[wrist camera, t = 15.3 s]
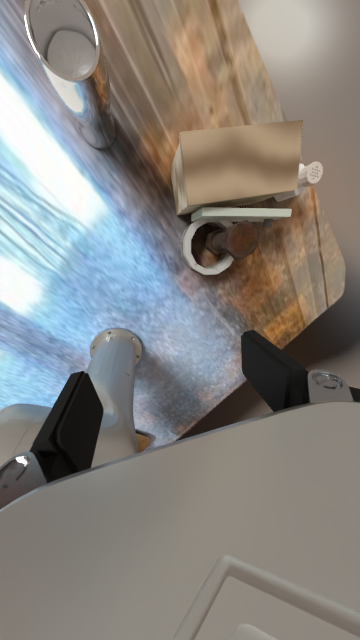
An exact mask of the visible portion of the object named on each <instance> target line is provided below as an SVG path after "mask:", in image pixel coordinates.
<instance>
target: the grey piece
mask: <svg viewBox="0 0 360 640" xmlns="http://www.w3.org/2000/svg"><path fill="white" fill-rule="evenodd" d="M291 212H292V209H269V208H218V207H202V208H201V209H199V210H198V211H196V212H195V213H193V214H192V215H191V222H193V223H192V224H191V225H190V226H189V228H188V230H187V232H186V234H185V236H184V238H183V254H184V257H185V259H186V261H187V262H188V264H189V266H190V267H191V268H193V269H194V270H196V271H198V272H199V273H201V274H204V275H211V274H219V273H220V272H222V271H223V270H225V269H226V268H228V267H229V266H230V265H231V263H232V261H233V260H234V258H233V257H232V256H230V255H229V254H228V253H227V254H226V256H225V258H224V260H223V261H222V262H221V263H220V264H218V265H217V266H215V267H213V268H203V267H202V266H200V265H198V264H196V262H195V260H194V258H193V256H192V254H191V239H192V237H193V235H194V233H195V232H196V230H197V228H199V227H200V226H202V225H203V224H205V223H216V224H217V225H219V226H220V227H222V228H223V229H224V230H225V232H226V228H227V227H229V226H232V225H233V224H232V223H231V222H241V221H243V220H248V221H249V222H263V227H268V226H272V221H273V220H277V219H282V218H287V217H291Z"/></svg>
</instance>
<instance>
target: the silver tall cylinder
mask: <svg viewBox="0 0 360 640" xmlns="http://www.w3.org/2000/svg"><path fill="white" fill-rule="evenodd" d="M24 18H25V25H26V30H27V33H28V36H29V39H30V42H31V44H32V46H33V48H34V50H35V52H36V54H37V56H38V59H39V61H40V63H41V65H42V67H43V70H44V72H45V74H46V76H47V78H48V80H49V82H50V84H51V85H52V87H53V89H54V90H55V92H56V94H57V95H58V97H59V99H60V100H61V101H62V103H63V104H64V105H65V107H66V108H67V109H68V110H69V112H70V113H71V114H72V115H73V116H74V117H75V119H76V120H77V121H78V126H79V129H80V132H81V134H82V136H83V137H84V139H85V140H86V141H87V142H88V143H89V144H90V145H91V146H93V147H95V148H98V149H105V148H108V147H109V146H111V145H112V143H113V142H114V140H115V136H116V125H115V121H114V118H113V116H112V114H111V112H110V82H109V76H108V70H107V65H106V61H105V57H104V53H103V49H102V46H101V42H100V39H99V34H98V30H97V26H96V23H95V21H94V18H93V16H92V14H91V12H90V10H89V8H88V6H87V5H86V3H85V2H84V0H25V7H24Z"/></svg>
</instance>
